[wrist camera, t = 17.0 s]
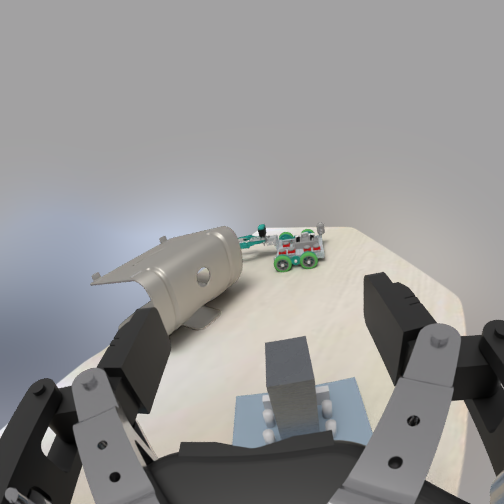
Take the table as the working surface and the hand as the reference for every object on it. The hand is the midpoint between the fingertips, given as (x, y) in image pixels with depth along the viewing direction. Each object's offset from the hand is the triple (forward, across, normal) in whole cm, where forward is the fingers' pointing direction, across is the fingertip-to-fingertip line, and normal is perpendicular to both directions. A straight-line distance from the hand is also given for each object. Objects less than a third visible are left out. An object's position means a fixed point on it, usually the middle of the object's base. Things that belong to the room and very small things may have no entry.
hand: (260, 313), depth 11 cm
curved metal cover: (+45, +22, +27) cm, 57 cm away
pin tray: (+11, -1, +26) cm, 28 cm away
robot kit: (+65, -2, +27) cm, 70 cm away
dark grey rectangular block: (+11, -1, +25) cm, 27 cm away
